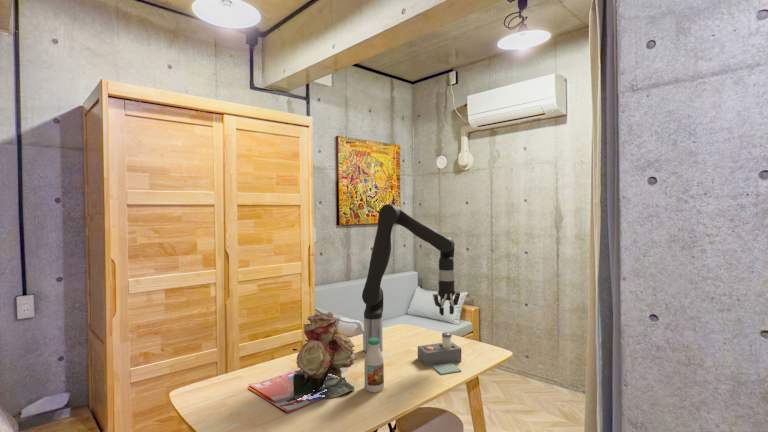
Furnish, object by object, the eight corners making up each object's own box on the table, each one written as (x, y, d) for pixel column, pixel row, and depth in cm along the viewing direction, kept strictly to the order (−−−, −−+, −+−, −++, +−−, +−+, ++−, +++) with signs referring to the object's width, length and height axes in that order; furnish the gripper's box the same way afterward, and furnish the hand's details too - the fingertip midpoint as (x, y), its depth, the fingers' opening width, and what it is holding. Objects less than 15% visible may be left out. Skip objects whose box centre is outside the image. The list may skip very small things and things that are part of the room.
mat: (440, 374, 173) (440, 373, 173) (431, 366, 181) (431, 365, 181) (461, 371, 176) (461, 370, 176) (451, 363, 185) (451, 362, 185)
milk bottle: (361, 390, 159) (360, 340, 159) (370, 382, 166) (370, 335, 165) (378, 394, 155) (377, 343, 155) (387, 386, 162) (386, 337, 162)
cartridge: (444, 361, 188) (444, 335, 188) (440, 357, 193) (440, 332, 192) (453, 359, 190) (453, 334, 189) (448, 356, 194) (448, 331, 194)
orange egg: (427, 362, 186) (427, 349, 186) (424, 359, 190) (424, 346, 189) (435, 361, 187) (435, 348, 187) (431, 358, 191) (431, 345, 191)
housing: (426, 366, 182) (426, 353, 182) (417, 358, 192) (417, 346, 192) (461, 361, 188) (461, 348, 188) (451, 353, 197) (451, 341, 197)
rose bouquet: (295, 408, 146) (293, 326, 145) (291, 375, 174) (290, 307, 173) (363, 398, 153) (362, 320, 152) (349, 368, 181) (348, 302, 180)
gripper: (455, 276, 196) (456, 311, 196) (429, 278, 191) (429, 314, 192) (463, 279, 189) (463, 315, 189) (436, 281, 184) (436, 318, 185)
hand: (446, 314), depth 191 cm, fingers open, 4 cm apart
